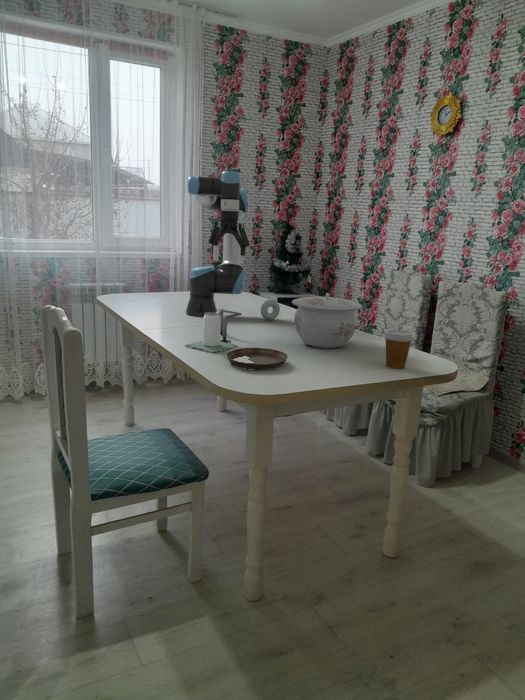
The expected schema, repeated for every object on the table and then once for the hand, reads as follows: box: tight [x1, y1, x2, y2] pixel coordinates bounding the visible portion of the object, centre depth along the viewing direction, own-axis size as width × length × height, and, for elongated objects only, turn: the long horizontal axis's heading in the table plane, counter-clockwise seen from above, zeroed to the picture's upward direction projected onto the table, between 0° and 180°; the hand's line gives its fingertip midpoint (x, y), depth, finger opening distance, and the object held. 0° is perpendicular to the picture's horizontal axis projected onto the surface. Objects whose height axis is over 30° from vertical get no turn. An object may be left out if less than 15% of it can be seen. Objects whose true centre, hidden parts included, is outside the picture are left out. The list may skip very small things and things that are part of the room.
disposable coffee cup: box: [384, 329, 414, 370], centre depth 185 cm, size 10×10×12 cm
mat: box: [184, 340, 238, 352], centre depth 201 cm, size 14×14×1 cm
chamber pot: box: [291, 292, 363, 350], centre depth 211 cm, size 28×28×21 cm
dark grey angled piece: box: [218, 308, 242, 343], centre depth 215 cm, size 14×14×10 cm
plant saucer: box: [225, 347, 288, 371], centre depth 181 cm, size 21×21×3 cm
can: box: [202, 312, 221, 347], centre depth 200 cm, size 6×6×12 cm
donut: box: [260, 299, 281, 321], centre depth 257 cm, size 10×4×10 cm, turn 117°
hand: (228, 262), depth 228 cm, fingers open, 13 cm apart
